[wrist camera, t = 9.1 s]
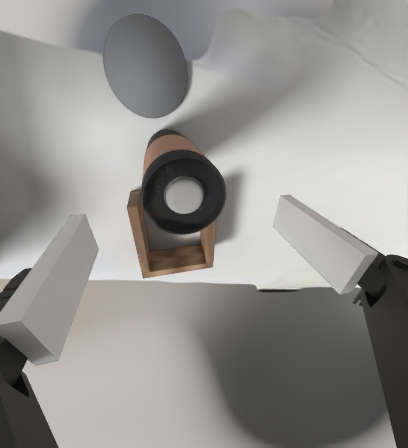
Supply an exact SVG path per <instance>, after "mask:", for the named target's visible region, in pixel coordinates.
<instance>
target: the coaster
mask: <svg viewBox="0 0 408 448" xmlns="http://www.w3.org/2000/svg"><path fill="white" fill-rule="evenodd" d="M103 62H104V69H105V73H106V77H107V79H108V82H109V84H110V86H111V89H112V90H113V92H114V94H115V95H116V96H117V98H118V99H119V100H120V101H121V103H122V104H123V105H124V106H126V107H127V108H128V109H129V110H131V111H132V112H134V113H136V114H138V115H140V116H143V117H147V118H159V117H163V116H166V115H168V114H169V113H171V112H172V111H174V110H175V109H176V108H177V106H178V105H179V104H180V102H181V100H182V98H183V96H184V93H185V90H186V85H187V67H186V61H185V58H184V54H183V52H182V49H181V47H180V45H179V43H178V41H177V40H176V38H175V37H174V35H173V34H172V33H171V31H170V30H169V29H168V28H167V27H166V26H165V25H163V24H162V23H161V22H160V21H158V20H156V19H154V18H152V17H150V16H147V15H142V14H133V15H128V16H125V17H123V18H122V19H120V20H118V21H117V22H116V23H115V24H114V25H113V27H112V28H111V29H110V31H109V33H108V35H107V38H106V40H105V44H104V51H103Z"/></svg>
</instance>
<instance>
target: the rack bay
mask: <svg viewBox="0 0 408 448" xmlns="http://www.w3.org/2000/svg"><path fill="white" fill-rule="evenodd" d="M127 210H128V214H129V219H130V223H131V228H132V232H133V236H134V241H135V245H136V249H137V254H138V258H139V263H140V267H141V271H142V276H143V278H149V277H155V276H161V275H168V274H174V273H180V272H186V271H192V270H199V269H205V268H211V267H213V260H214V245H215V231H216V220H215V221H214V222H213V223H212V224H211V225H209V226H208V227H206V228H205V229H203V230H201V231H200V245H194V246H187V247H179V248H172V249H164V250H157V251H150V249H149V244H148V238H147V233H146V227H145V221H144V216H143V210H142V205H141V199H140V193H139V191H131V192H130V196H129V201H128V205H127Z"/></svg>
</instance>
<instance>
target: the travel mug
mask: <svg viewBox="0 0 408 448" xmlns="http://www.w3.org/2000/svg"><path fill="white" fill-rule="evenodd" d="M225 200H226V187H225V183H224V180H223V177H222V175H221V174H220V172H219V171H218V169H217V168H216V167H215V166H214V165H213V164H212V163H211V162H210V161H209V160H208V159H207V158H206V157H205V156H204V155H203V154H202V153H201V152H200V151H199V150H198V149H197V148H196V147H195V145H194V144H193V143H192V142H190V141H189V140H188V139H187V138H185V137H184V136H182V135H181V134H179V133H178V132H176V131H173V130H161V131H158V132H157V133H155V134H154V135H153V136H152V137H151V139H150V141H149V143H148V146H147V150H146V153H145V158H144V168H143V179H142V191H141V204H142V208H143V209H144V210H145V211H146V213H147V214H148V216H149V217H150V218H151V219H152V220H153V222H154V223H155V225H156V226H157V227H158V228H159V229H161V230H163V231H165V232H168V233H172V234H179V235H185V234H192V233H196V232H199V231H201V230H203V229H205V228H206V227H208V226H209V225H211V224H212V223H213V222H214V221H215V220H216V219H217V218H218V216H219V215H220V213H221V211H222V210H223V207H224V204H225Z"/></svg>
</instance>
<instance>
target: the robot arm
mask: <svg viewBox="0 0 408 448" xmlns="http://www.w3.org/2000/svg"><path fill="white" fill-rule="evenodd" d="M272 227H273V228H274V229H275V230H276V231H277V232H278V233H279V234H280V235H281V236H282V237H283V238H284V239H285V240H286V241H287V242H288V243H289V244H290V245H291V246H292V247H293V248H294V249H295V250H296V251H297V252H298V253H299V254H300V255H301V256H302V257H303V258H304V259H305V260H306V261H307V262H308V263H309V264H310V265H311V266H312V267H313V268H314V269H315V270H316V271H317V272H318V273H319V274H320V275H321V276H322V277H323V278H324V279H325V280H326V281H327V282H328V283H329V284H330V285H331V286H332V287H333V288H334V289H335V290H336V291H337V292H338V293H339V294H344V293H349V292H352V291H353V289H354V288H355V286H356V285H357V284H358V285H359V286H360V287H361V288H362V289H361V290H360V291H359V293H358V294H357V296H356V297H355V298H354V300H353V303H354V304H355V303H356V302H357V301H358V300H361V303H360V304H359V305H360V306H363V310H364V314H365V319H366V323H367V327H368V331H369V335H370V339H371V343H372V347H373V352H374V356H375V360H376V364H377V368H378V372H379V376H380V380H381V384H382V389H383V392H384V397H385V401H386V405H387V409H388V413H389V418H390V421H391V426H392V429H393V434H394V438H395V442H396V446H397V448H408V259H407V258H404V257H401V256H398V255H387V256H385V255H383V254H382V253H380V252H378V251H377V250H375V249H374V248H372V247H371V246H369V245H368V244H366V243H365V242H363V241H361V240H358V238H357V237H355V236H354V235H352V234H351V233H349V232H348V231H346V230H344V229H342V228H340V227H338V226H337V225H335V224H334V223H332V222H330V221H329V220H327V219H326V218H324V217H323V216H321V215H320V214H318V213H317V212H315V211H314V210H312V209H311V208H309V207H308V206H306V205H304V204H303V203H301V202H300V201H298V200H297V199H295V198H294V197H292V196H291V195H282V196H280V199H279V203H278V207H277V211H276V215H275V219H274V223H273V226H272ZM98 250H99V249H98V246H97V243H96V241H95V238H94V236H93V233H92V230H91V228H90V225H89V223H88V220H87V218H86V215H85V214H81V215H71V216H70V217H69V219H68V220H67V221H66V223H65V224H64V225H63V227H62V228H61V230H60V231H59V232H58V234H57V235H56V236H55V238H54V239H53V241H52V242H51V243H50V245H49V246H48V247H47V249H46V250H45V252H44V253H43V254H42V256H41V257H40V258H39V260H38V261H37V263H36V264H35V265H34V267H33V268H29V269H24V270H23V271H21V272H20V273H19V274H17V275H16V276H15V277H14V278H12V279H11V280H10V282H9V283H8V284H7V285H6V287H5V288H4V289H3V291H2V292H1V293H0V448H58V445H57V443H56V441H55V438H54V436H53V434H52V432H51V430H50V428H49V425H48V423H47V421H46V418H45V416H44V414H43V412H42V410H41V407H40V405H39V403H38V401H37V398H36V396H35V394H34V392H33V390H32V387H31V385H30V383H29V381H28V378H27V376H26V374H25V373H24V372H22V369H23V367H24V365H25V363H26V361H27V359H28V360H29V361H30V362H31V363H32V364H34V365H35V366H38V365H42V364H46V363H50V362H55V361H58V360H59V357H60V355H61V352H62V349H63V346H64V344H65V341H66V338H67V335H68V333H69V330H70V327H71V325H72V322H73V319H74V316H75V314H76V311H77V308H78V305H79V303H80V300H81V297H82V294H83V292H84V289H85V286H86V283H87V281H88V278H89V275H90V272H91V270H92V267H93V264H94V261H95V259H96V256H97V253H98Z"/></svg>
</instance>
